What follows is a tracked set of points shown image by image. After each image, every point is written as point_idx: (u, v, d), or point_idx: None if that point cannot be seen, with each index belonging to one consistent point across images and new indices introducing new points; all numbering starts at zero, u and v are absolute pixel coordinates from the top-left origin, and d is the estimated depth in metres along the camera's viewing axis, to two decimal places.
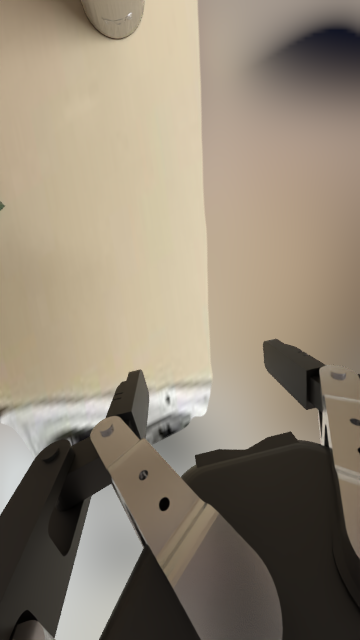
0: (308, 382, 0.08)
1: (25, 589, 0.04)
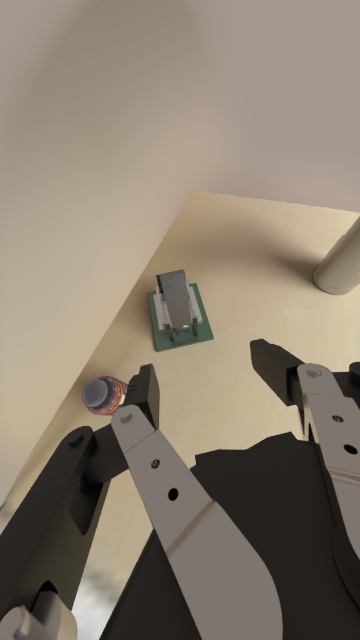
0: (288, 380, 0.09)
1: (47, 561, 0.04)
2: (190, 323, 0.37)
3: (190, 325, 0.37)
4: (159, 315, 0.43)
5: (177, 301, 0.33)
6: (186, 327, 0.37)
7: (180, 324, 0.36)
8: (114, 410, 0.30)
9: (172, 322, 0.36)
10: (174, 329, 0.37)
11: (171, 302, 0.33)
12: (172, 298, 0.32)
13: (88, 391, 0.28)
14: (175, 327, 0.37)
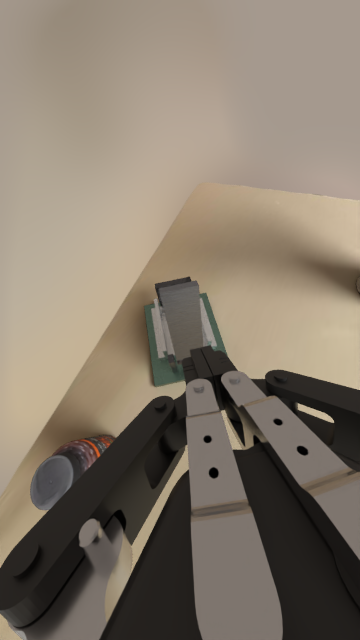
0: (217, 386, 0.09)
1: (122, 496, 0.05)
2: None
3: None
4: (158, 337, 0.32)
5: (185, 326, 0.22)
6: None
7: (188, 355, 0.26)
8: None
9: (177, 353, 0.25)
10: (179, 362, 0.26)
11: (176, 328, 0.22)
12: (178, 322, 0.21)
13: (41, 478, 0.17)
14: (181, 359, 0.26)
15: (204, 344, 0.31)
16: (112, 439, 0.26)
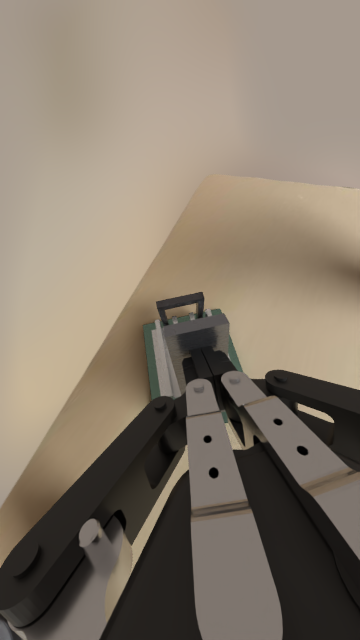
0: (217, 386, 0.09)
1: (122, 496, 0.05)
2: None
3: None
4: (161, 370, 0.25)
5: None
6: None
7: None
8: None
9: None
10: None
11: None
12: None
13: None
14: None
15: None
16: None
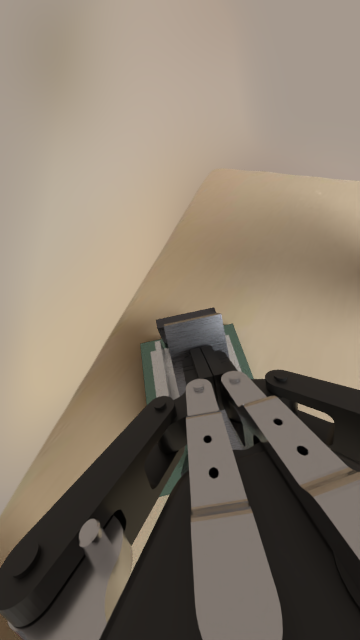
0: (217, 386, 0.09)
1: (122, 496, 0.05)
2: None
3: None
4: None
5: None
6: None
7: None
8: None
9: None
10: None
11: None
12: None
13: None
14: None
15: None
16: None
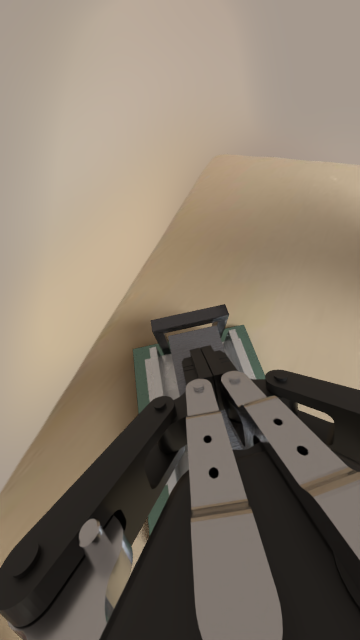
0: (217, 386, 0.09)
1: (122, 496, 0.05)
2: None
3: None
4: None
5: None
6: None
7: None
8: None
9: None
10: None
11: None
12: None
13: None
14: None
15: None
16: None
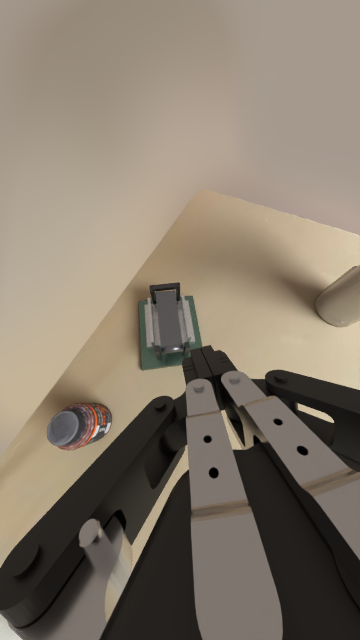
0: (217, 386, 0.09)
1: (122, 496, 0.05)
2: (181, 342, 0.34)
3: (181, 345, 0.34)
4: (148, 329, 0.39)
5: (168, 314, 0.36)
6: (176, 346, 0.33)
7: (170, 342, 0.34)
8: (85, 444, 0.26)
9: (161, 338, 0.34)
10: (163, 347, 0.33)
11: (162, 315, 0.36)
12: (163, 310, 0.36)
13: (55, 425, 0.24)
14: (164, 345, 0.33)
15: (185, 339, 0.38)
16: (104, 407, 0.33)
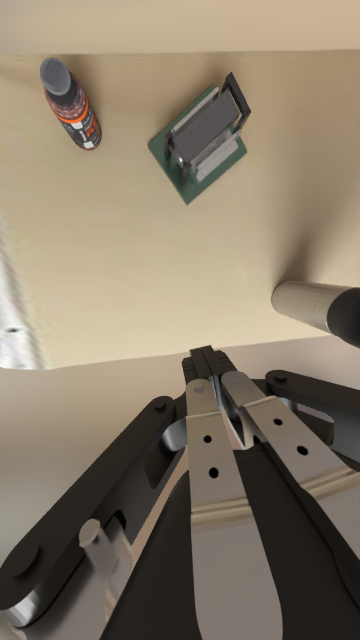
0: (217, 386, 0.09)
1: (122, 496, 0.05)
2: (187, 159, 0.33)
3: (185, 161, 0.33)
4: None
5: (208, 125, 0.32)
6: (181, 157, 0.33)
7: (182, 147, 0.33)
8: (64, 122, 0.30)
9: (181, 135, 0.32)
10: (173, 143, 0.32)
11: (205, 118, 0.32)
12: (210, 116, 0.32)
13: (51, 66, 0.25)
14: (176, 143, 0.33)
15: (196, 170, 0.37)
16: (99, 128, 0.35)
